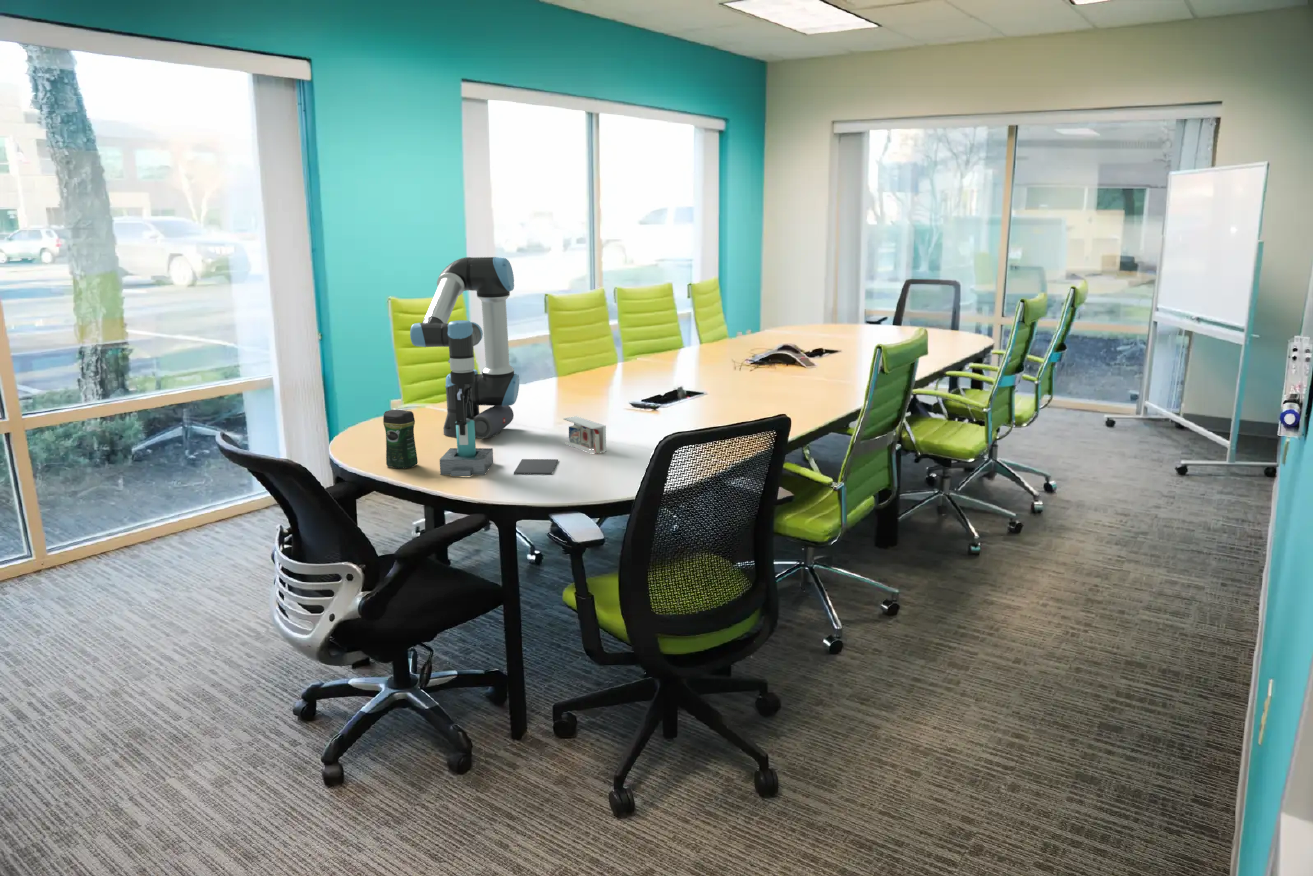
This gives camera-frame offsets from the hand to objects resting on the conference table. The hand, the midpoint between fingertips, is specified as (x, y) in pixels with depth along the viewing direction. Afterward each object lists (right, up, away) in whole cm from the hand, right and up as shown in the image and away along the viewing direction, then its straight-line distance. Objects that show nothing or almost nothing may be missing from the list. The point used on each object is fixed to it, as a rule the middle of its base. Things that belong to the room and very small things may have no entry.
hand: (466, 441), depth 295 cm
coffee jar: (-22, -8, +5) cm, 24 cm away
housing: (0, -9, +2) cm, 9 cm away
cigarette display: (+36, -3, +28) cm, 46 cm away
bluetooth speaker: (0, +2, +47) cm, 47 cm away
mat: (+22, -8, +3) cm, 24 cm away
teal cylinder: (0, -6, +2) cm, 6 cm away
